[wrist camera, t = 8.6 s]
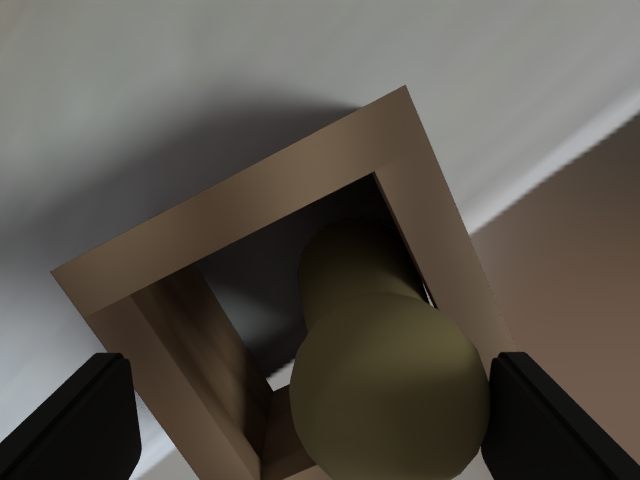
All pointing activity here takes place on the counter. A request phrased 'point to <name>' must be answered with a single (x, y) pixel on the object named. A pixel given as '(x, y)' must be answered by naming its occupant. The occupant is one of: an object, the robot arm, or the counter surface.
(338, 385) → the cork
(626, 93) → the counter surface
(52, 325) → the counter surface
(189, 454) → the box
